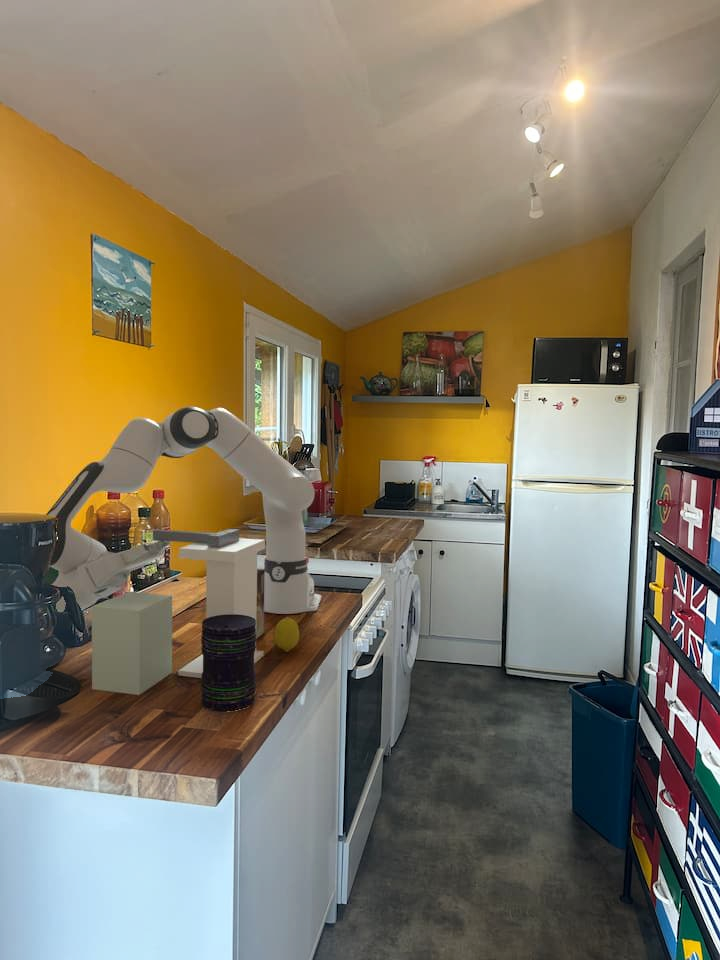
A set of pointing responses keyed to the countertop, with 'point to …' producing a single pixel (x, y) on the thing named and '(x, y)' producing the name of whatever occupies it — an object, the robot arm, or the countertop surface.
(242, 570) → the shelf
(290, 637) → the lemon
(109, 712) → the countertop surface
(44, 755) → the countertop surface
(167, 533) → the t key
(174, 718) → the countertop surface
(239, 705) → the storage jar
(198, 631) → the countertop surface
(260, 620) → the coffee box
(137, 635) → the block
